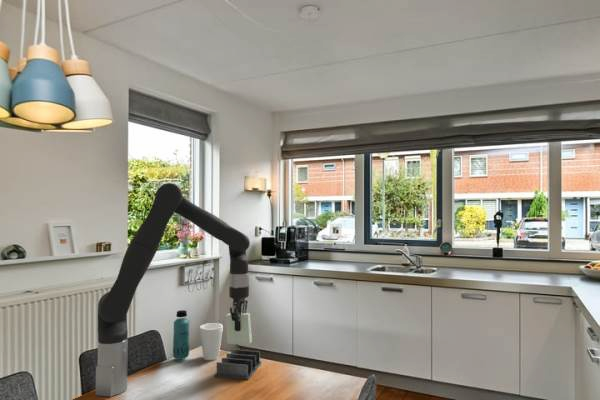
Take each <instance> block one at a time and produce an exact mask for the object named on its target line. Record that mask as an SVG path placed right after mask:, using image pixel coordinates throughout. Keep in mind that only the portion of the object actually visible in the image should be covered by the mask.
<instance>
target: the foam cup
mask: <svg viewBox="0 0 600 400" xmlns="http://www.w3.org/2000/svg"><path fill="white" fill-rule="evenodd" d="M223 326H224V325H223V324H222V323H218V322H217V323H216V322H210V323H204V324H201V325H200V326H199V335H200V341H201V343H200V344H201V351H202V358H203V360H205V361H215V360H217V359H219V358H220V350H221V344H222V335H223V331H224V329H223V328H224V327H223Z"/></svg>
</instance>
